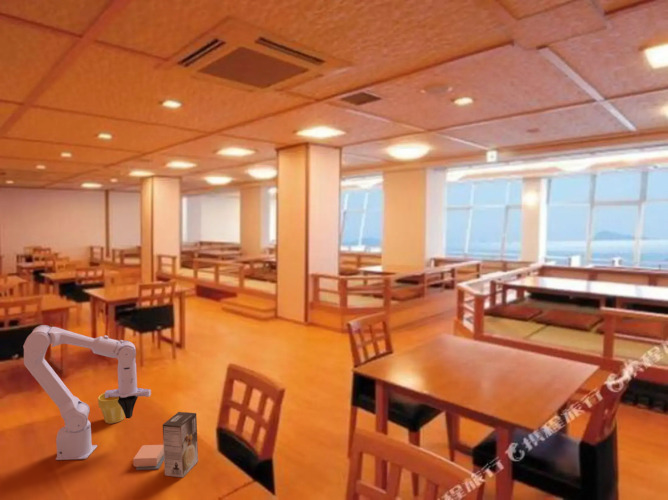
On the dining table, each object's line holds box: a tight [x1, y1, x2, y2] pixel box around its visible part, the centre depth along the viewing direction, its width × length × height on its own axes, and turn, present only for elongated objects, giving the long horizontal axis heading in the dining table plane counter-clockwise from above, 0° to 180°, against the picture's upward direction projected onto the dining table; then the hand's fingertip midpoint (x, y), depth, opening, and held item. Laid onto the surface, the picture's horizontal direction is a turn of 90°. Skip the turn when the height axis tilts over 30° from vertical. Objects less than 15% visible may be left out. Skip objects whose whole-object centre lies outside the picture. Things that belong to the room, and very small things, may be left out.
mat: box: [135, 454, 164, 471], centre depth 142 cm, size 7×10×1 cm
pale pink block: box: [132, 444, 164, 468], centre depth 142 cm, size 3×8×7 cm
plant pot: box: [97, 392, 125, 424], centre depth 170 cm, size 10×10×10 cm
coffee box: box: [162, 411, 199, 478], centre depth 137 cm, size 9×6×16 cm
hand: (129, 417), depth 152 cm, fingers closed
